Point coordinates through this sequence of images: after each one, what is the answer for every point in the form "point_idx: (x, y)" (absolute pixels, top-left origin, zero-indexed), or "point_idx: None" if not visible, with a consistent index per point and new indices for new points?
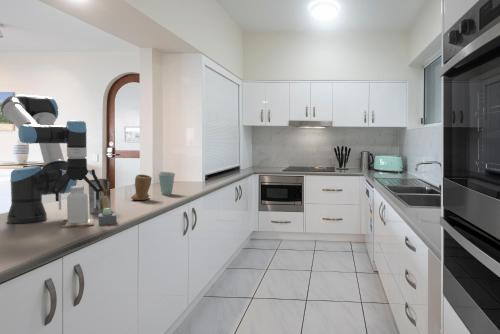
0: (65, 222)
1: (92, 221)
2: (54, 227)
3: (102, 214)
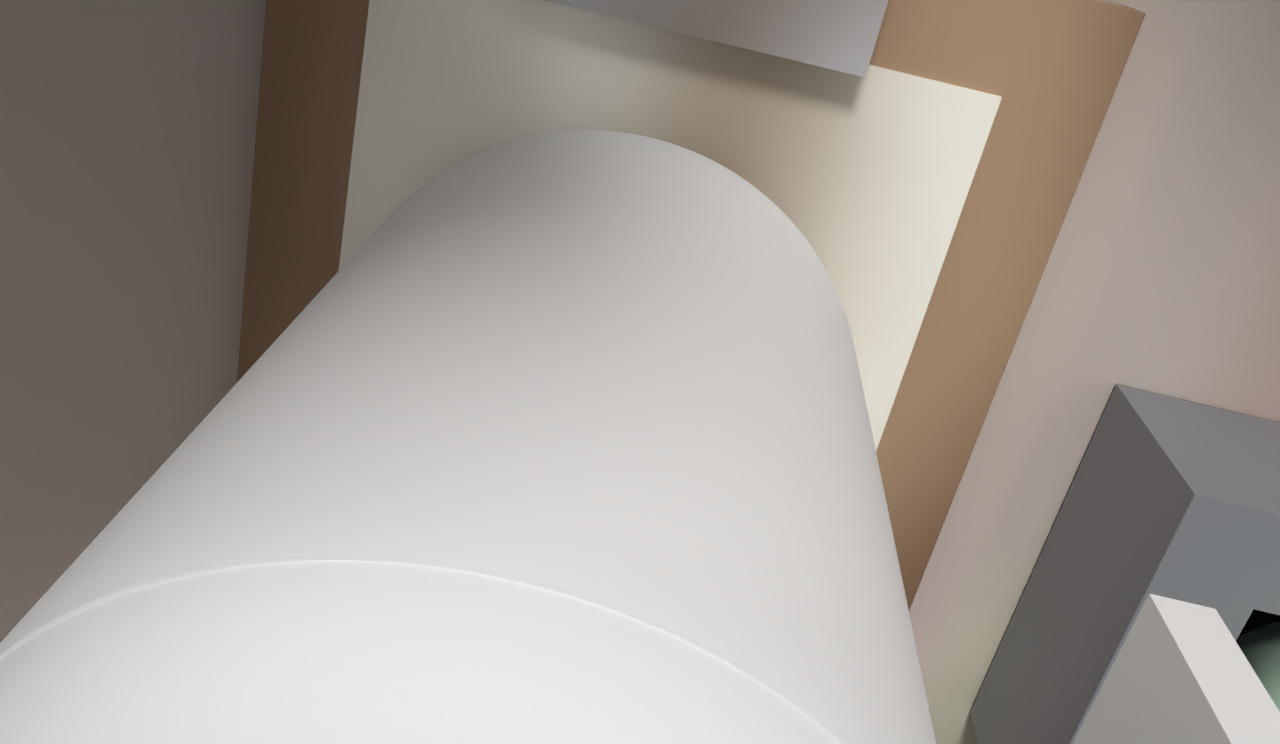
0: (311, 223)
1: (937, 461)
2: (94, 470)
3: (1254, 600)
